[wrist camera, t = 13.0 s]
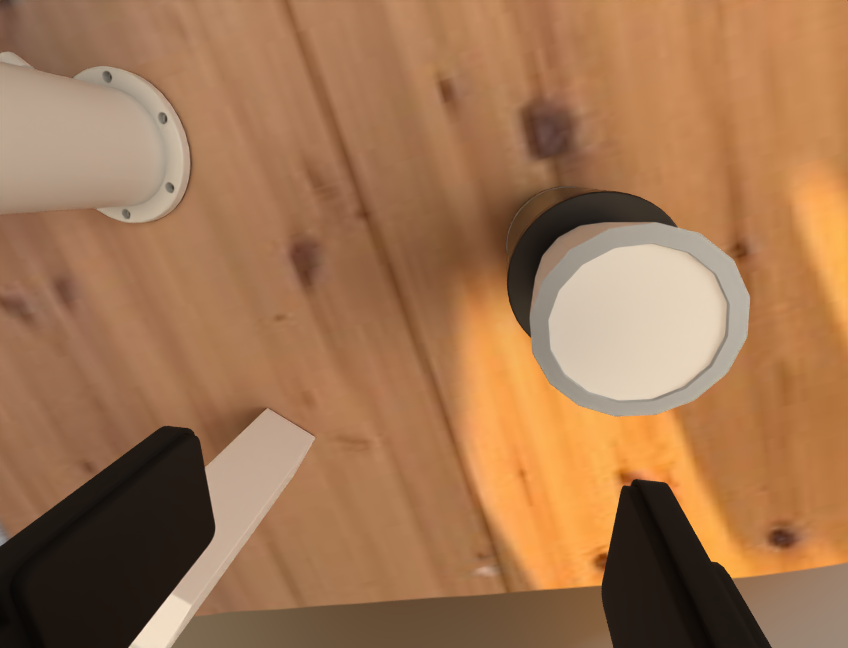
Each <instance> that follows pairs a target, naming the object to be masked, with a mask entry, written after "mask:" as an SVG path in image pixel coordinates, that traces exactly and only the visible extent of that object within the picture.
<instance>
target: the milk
mask: <svg viewBox="0 0 848 648" xmlns="http://www.w3.org/2000/svg"><path fill="white" fill-rule="evenodd" d="M314 440H315V437H314V436H313V435H311V434H310V433H308V432H306V431H305V430H303V429H301V428H300V427H298V426H296V425H295V424H293V423H292V422H290V421H288V420H287V419H285V418H283V417H282V416H280V415H278V414H277V413H275V412H274V411H272V410H270V409H269V408H267V409H266V410H264V411H263V412H262V413H261V414H260V415H259V416H258V417H257V418H256V419H255V420H254V421H253V422H252V423H251V424H250V425H249V426H248V427H247V428H246V429H245V430H244V431H242V432H241V433H240V434H239V435H238V436H237V437H236V438H235V439H234V440H233V441H232V442H231V443H230V444H229V445H228V446H227V447H226V448H225V449H224V450H223V451H222V452H221V453H219V454H218V455H217V456H216V457H215V458H214V459H213V460H212V461H211V462H210V463H209V464H208V465H207V466H206V467H205V472H206V477H207V483H208V488H209V493H210V499H211V504H212V509H213V515H214V520H215V527H216V529H215V534H214V537H213V539H212V541H211V543H210V544H209V546H208V547H207V548H206V549H205V551H204V552H203V553H202V555H201V556H200V557H199V558H198V560H197V561H196V562H195V563H194V565H193V566H192V567H191V569H190V570H189V571H188V572H187V574H186V575H185V576H184V577H183V579H182V580H181V581H180V583H179V584H178V585H177V586H176V588H175V589H174V590H173V591H172V593H171V594H170V595H169V597H168V598H167V599H166V600H165V602H164V603H163V604H162V605H161V607H160V608H159V609H158V611H157V612H156V613H155V614H154V616H153V617H152V618H151V620H150V621H149V622H148V623H147V625H146V626H145V627H144V628H143V630H142V631H141V632H140V634H139V635H138V636H137V637H136V639H135V640H134V641H133V642H132V644H131V645H130V646H129V648H171V646H172V645H173V643H174V642H175V641H176V639H177V638H178V636H179V635H180V634H181V632H182V631H183V629H184V628H185V627H186V625H187V624H188V622H189V621H190V619H191V618H192V617H193V615H194V614H195V613H196V611H197V610H198V608H199V607H200V606H201V604H202V603H203V602H204V600H205V599H206V597H207V596H208V595H209V593H210V592H211V590H212V589H213V588H214V586H215V585H216V583H217V582H218V581H219V579H220V578H221V576H222V575H223V574H224V572H225V571H226V569H227V568H228V567H229V565H230V564H231V562H232V561H233V560H234V558H235V557H236V555H237V554H238V553H239V551H240V550H241V549H242V547H243V546H244V544H245V543H246V542H247V540H248V539H249V537H250V536H251V535H252V533H253V532H254V530H255V529H256V528H257V526H258V525H259V523H260V522H261V521H262V519H263V518H264V516H265V515H266V514H267V512H268V511H269V509H270V508H271V507H272V505H273V504H274V502H275V501H276V500H277V498H278V497H279V495H280V494H281V493H282V491H283V490H284V489H285V487H286V486H287V484H288V483H289V482H290V480H291V479H292V477H293V476H294V474H295V473H296V471H297V469H298V468H299V466H300V464H301V462H302V461H303V459H304V457H305V455H306V454H307V452H308V450H309V449H310V447H311V445H312V443H313V442H314Z"/></svg>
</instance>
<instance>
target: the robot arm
mask: <svg viewBox="0 0 848 648" xmlns="http://www.w3.org/2000/svg"><path fill="white" fill-rule="evenodd" d="M189 174H190V154H189V146H188V142H187V138H186V134H185V131H184V129H183V126H182V124H181V122H180V119H179V117H178V116H177V114H176V112H175V110H174V109H173V107H172V105H171V104H170V103H169V102H168V100H167V99H166V98H165V97H164V95H163V94H162V93H161V92H160V91H159V90H158V89H157V88H155V87H154V86H153V85H152V84H151V83H150V82H148V81H147V80H145V79H143V78H142V77H140V76H139V75H137V74H134V73H131V72H129V71H126V70H122V69H118V68H114V67H110V66H96V67H92V68H89V69H85V70H83V71H82V72H80V73H78V74H77V75H75V76H74V77H73V78H69V77H65V76H61V75H56V74H52V73H48V72H44V71H39V70H36V69H35V68H33V67H32V66H31V65H29V64H28V63H27V62H25V61H24V60H23V59H21V58H20V57H19V56H17V55H16V54H15V53H12V52H8V51H7V52H1V53H0V215H4V214H18V213H33V212H48V211H62V210H77V209H92V208H95V209H97V210H98V211H100V212H101V213H103V214H105V215H106V216H108V217H111V218H113V219H116V220H118V221H122V222H127V223H144V222H150V221H155V220H158V219H160V218H162V217H165V216H166V215H167V214H169V213H170V212H171V211H173V210H174V209H175V207H176V206H177V205H178V204H179V202H180V201H181V199H182V197H183V195H184V193H185V191H186V188H187V184H188V180H189ZM215 529H216V527H215V520H214V515H213V509H212V504H211V499H210V493H209V488H208V483H207V477H206V472H205V467H204V461H203V456H202V450H201V445H200V441H199V438H198V437H197V436H195V434H194V432H193V431H192V430H191V429H189V428H181V427H173V426H163V427H161V428H160V429H158V430H157V431H155V432H154V433H153V434H151V435H150V436H149V437H147V438H146V439H145V440H143V441H142V442H141V443H139V444H138V445H136V446H135V447H134V448H132V449H131V450H130V451H128V452H127V453H126V454H124V455H123V456H122V457H120V458H119V459H118V460H116V461H115V462H114V463H112V464H111V465H110V466H108V467H107V468H105V469H104V470H103V471H101V472H100V473H99V474H97V475H96V476H95V477H93V478H92V479H91V480H89V481H88V482H87V483H85V484H84V485H83V486H81V487H80V488H79V489H77V490H76V491H74V492H73V493H72V494H70V495H69V496H68V497H66V498H65V499H64V500H62V501H61V502H60V503H58V504H57V505H56V506H54V507H53V508H52V509H50V510H49V511H48V512H46V513H45V514H43V515H42V516H41V517H39V518H38V519H37V520H35V521H34V522H33V523H31V524H30V525H29V526H27V527H26V528H25V529H23V530H22V531H21V532H19V533H18V534H17V535H15V536H14V537H12V538H11V539H10V540H8V541H7V542H6V543H4V544H3V545H2V546H0V648H129V646H130V645H131V644H132V642H133V641H134V640H135V639H136V637H137V636H138V635H139V634H140V632H141V631H142V630H143V628H144V627H145V626H146V625H147V623H148V622H149V621H150V620H151V618H152V617H153V616H154V614H155V613H156V612H157V611H158V609H159V608H160V607H161V605H162V604H163V603H164V602H165V600H166V599H167V598H168V597H169V595H170V594H171V593H172V591H173V590H174V589H175V588H176V586H177V585H178V584H179V583H180V581H181V580H182V579H183V577H184V576H185V575H186V574H187V572H188V571H189V570H190V569H191V567H192V566H193V565H194V563H195V562H196V561H197V560H198V558H199V557H200V556H201V555H202V553H203V552H204V551H205V549H206V548H207V547H208V546H209V544H210V543H211V541H212V539H213V537H214V534H215ZM602 602H603V607H604V611H605V615H606V619H607V623H608V627H609V631H610V635H611V639H612V643H613V648H772V647H771V646H770V644H769V642H768V640H767V639H766V637H765V635H764V634H763V632H762V630H761V629H760V627H759V625H758V623H757V622H756V620H755V618H754V616H753V615H752V613H751V611H750V610H749V608H748V606H747V604H746V603H745V601H744V599H743V598H742V596H741V594H740V592H739V591H738V589H737V587H736V586H735V584H734V582H733V580H732V579H731V577H730V575H729V574H728V573H727V571H726V570H725V568H724V567H723V566H721V565H720V564H719V563H717V562H711V561H710V559H709V557H708V555H707V553H706V552H705V550H704V548H703V546H702V544H701V543H700V541H699V539H698V537H697V535H696V534H695V532H694V530H693V528H692V526H691V525H690V523H689V521H688V519H687V517H686V516H685V514H684V512H683V510H682V508H681V507H680V505H679V503H678V501H677V499H676V498H675V496H674V494H673V492H672V490H671V489H670V487H669V486H668V484H666V483H664V482H656V481H647V480H638V479H635V480H633V482H632V483H631V486H623V487H622V490H621V494H620V498H619V503H618V508H617V513H616V518H615V523H614V528H613V533H612V537H611V542H610V547H609V552H608V557H607V562H606V567H605V572H604V577H603V581H602Z"/></svg>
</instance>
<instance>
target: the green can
mask: <svg viewBox="0 0 848 648" xmlns="http://www.w3.org/2000/svg"><path fill="white" fill-rule="evenodd" d="M603 222H657V223H661V224H665V225H669V226H673V227H677V225H676V224H675V223H674V222H673V220H672V219H671V218H670V217H669V216H668V215H667V214H666V213H665V212H664V211H663V210H661V209H660V208H659V207H657V206H656V205H654V204H653V203H651V202H649V201H647V200H645V199H643V198H641V197H638V196H635V195H631V194H628V193H622V192H616V191H606V190H597V189H587V188H580V187H574V186H562V187H555V188H551V189H548V190H545V191H543V192H541V193H539V194H537V195H535V196H534V197H532V198H531V199H529V200H528V201H527V202H526V203H525V204H524V205H523V206H522V207H521V208H520V209H519V210H518V212H517V213H516V215H515V216H514V218H513V220H512V222H511V224H510V227H509V230H508V234H507V240H506V253H507V291H508V297H509V302H510V305H511V308H512V311H513V313H514V315H515V317H516V319H517V321H518V323H519V324H520V326H521V327H522V328H523V330H524V331H525V332H526V333H527V334H528V335H529V336H530V337H531V329H530V310H531V303H532V296H533V289H534V282H535V276H536V273H537V270H538V267H539V264H540V261H541V258H542V256H543V254H544V253H545V252H546V251H547V250H548V249H549V247H550V246H551V245H552V244H553V243H554V242H555V240H556V239H557V238H558V237H560V236H562V235H564V234H565V233H567V232H569V231H571V230H573V229H575V228H577V227H578V226H581V225H589V224H596V223H603ZM677 228H678V227H677Z"/></svg>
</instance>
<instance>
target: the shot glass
mask: <svg viewBox="0 0 848 648" xmlns="http://www.w3.org/2000/svg"><path fill="white" fill-rule="evenodd" d="M749 304H750V296H749V294H748V292H747V289H746V287H745V285H744V282H743V280H742V278H741V276H740V273H739V271H738V269H737V267H736V264H735V262H734V260H733V259H732V258H730V257H729V256H728V255H727V254H725V253H724V252H723V251H722V250H720V249H719V248H718V247H717V246H715V245H714V244H713V243H712V242H710V241H709V240H708V239H707V238H705V237H704V236H703V235H702V234H700V233H697V232H693V231H689V230H685V229H681V228H677V227H673V226H669V225H665V224H661V223H657V222H603V223H596V224H589V225H581V226H578V227H577V228H575V229H573V230H571V231H569V232H567V233H565V234H564V235H562V236H560V237H558V238H557V239H556V240H555V242H554V243H553V244H552V245H551V246H550V247H549V249H548V250H547V251H546V252H545V253H544V254H543V256H542V258H541V261H540V264H539V267H538V270H537V273H536V276H535V282H534V289H533V296H532V303H531V310H530V329H531V341H532V352H533V355H534V357H535V358H536V360H537V362H538V364H539V365H540V367H541V369H542V371H543V372H544V374H545V376H546V378H547V379H548V381H549V383H550V384H551V385H552V386H554V387H555V388H556V389H558V390H559V391H560V392H561V393H563V394H564V395H565V396H567V397H568V398H569V399H571V400H572V401H573V402H575V403H576V404H577V405H579V406H582V407H585V408H589V409H592V410H595V411H599V412H602V413H605V414H609V415H612V416H637V415H656V414H659V413H662V412H664V411H667V410H670V409H672V408H675V407H678V406H680V405H683V404H686V403H688V402H691V401H694V400H695V399H697V398H698V397H699V396H700V395H701V394H703V393H704V392H705V391H706V390H708V389H709V388H710V387H711V386H712V385H714V384H715V383H716V382H717V381H718V380H720V379H721V378H722V377H723V376H724V375H726V374H727V373H728V371H729V369H730V367H731V365H732V364H733V362H734V360H735V358H736V356H737V355H738V353H739V351H740V349H741V347H742V346H743V344H744V342H745V340H746V338H747V333H748V318H749Z"/></svg>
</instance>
